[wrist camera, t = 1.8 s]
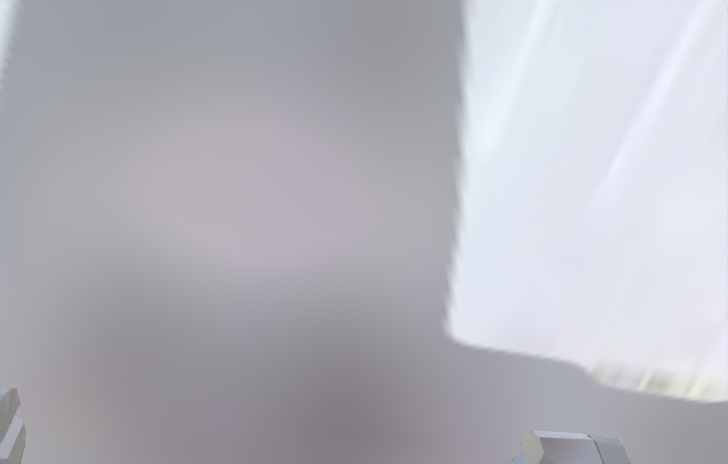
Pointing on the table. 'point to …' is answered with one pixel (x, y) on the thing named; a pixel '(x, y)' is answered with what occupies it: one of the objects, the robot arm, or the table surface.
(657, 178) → the table surface
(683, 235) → the table surface
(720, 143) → the table surface
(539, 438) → the robot arm
